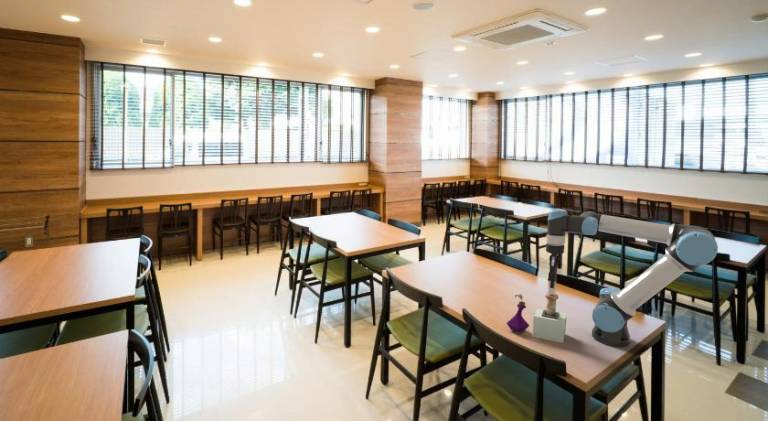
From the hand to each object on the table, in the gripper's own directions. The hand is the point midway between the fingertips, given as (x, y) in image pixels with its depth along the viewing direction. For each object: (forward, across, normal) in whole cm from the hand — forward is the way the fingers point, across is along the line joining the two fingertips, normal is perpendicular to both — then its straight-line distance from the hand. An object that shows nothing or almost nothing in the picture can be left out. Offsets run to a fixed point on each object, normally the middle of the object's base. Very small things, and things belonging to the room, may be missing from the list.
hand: (551, 294), depth 182 cm
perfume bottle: (+20, +2, -14) cm, 25 cm away
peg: (+10, 0, 0) cm, 10 cm away
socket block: (+20, 0, 0) cm, 20 cm away
